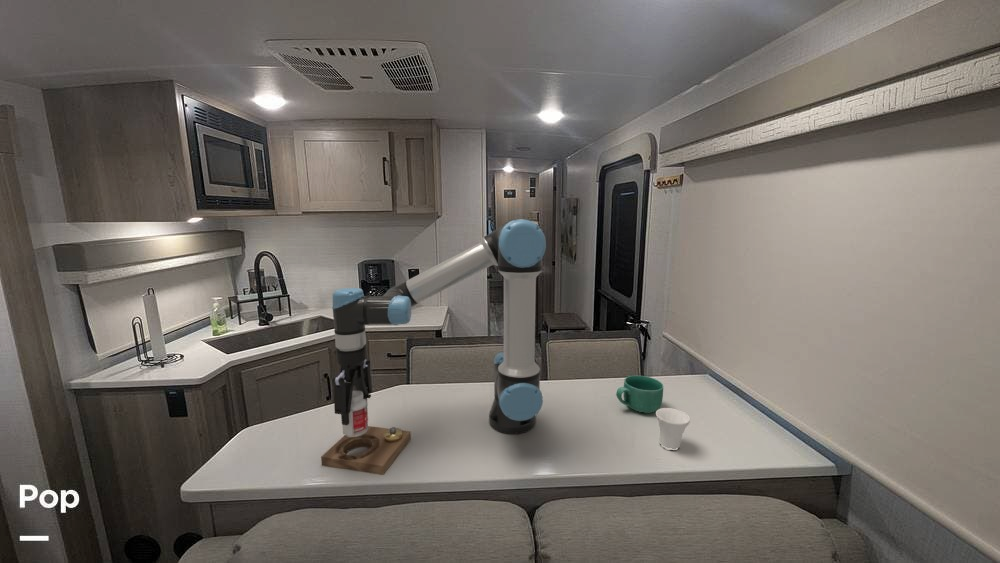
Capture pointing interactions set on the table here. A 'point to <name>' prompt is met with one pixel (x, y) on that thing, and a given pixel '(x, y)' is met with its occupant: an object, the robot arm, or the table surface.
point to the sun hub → (392, 435)
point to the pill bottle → (359, 414)
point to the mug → (641, 393)
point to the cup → (671, 426)
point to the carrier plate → (370, 460)
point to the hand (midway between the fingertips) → (356, 426)
